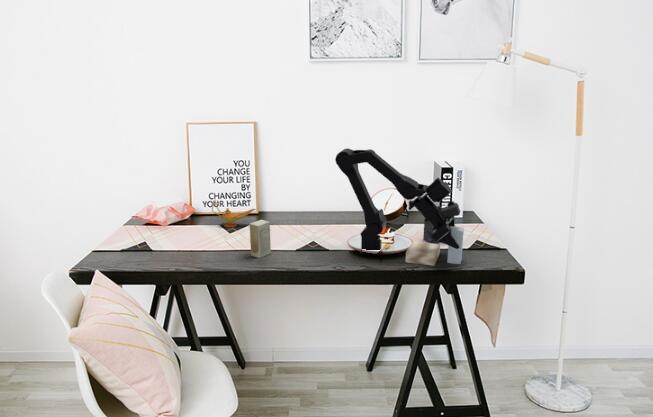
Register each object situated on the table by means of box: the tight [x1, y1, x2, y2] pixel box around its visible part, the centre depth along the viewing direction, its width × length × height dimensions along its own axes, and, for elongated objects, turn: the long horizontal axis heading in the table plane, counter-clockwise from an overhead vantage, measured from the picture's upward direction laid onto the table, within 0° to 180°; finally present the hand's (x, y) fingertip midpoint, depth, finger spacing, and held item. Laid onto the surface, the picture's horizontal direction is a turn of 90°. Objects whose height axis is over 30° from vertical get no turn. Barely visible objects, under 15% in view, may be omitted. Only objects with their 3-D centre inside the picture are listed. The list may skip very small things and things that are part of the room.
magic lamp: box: [211, 199, 257, 228], centre depth 252 cm, size 7×18×11 cm, turn 94°
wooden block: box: [405, 241, 441, 267], centre depth 219 cm, size 10×12×4 cm
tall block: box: [446, 225, 465, 265], centre depth 214 cm, size 4×4×12 cm
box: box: [422, 219, 438, 244], centre depth 235 cm, size 8×6×11 cm
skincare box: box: [249, 219, 272, 259], centre depth 220 cm, size 6×4×12 cm
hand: (459, 243), depth 214 cm, fingers open, 9 cm apart
